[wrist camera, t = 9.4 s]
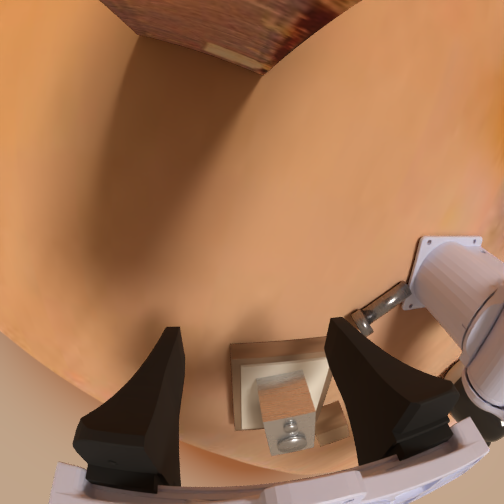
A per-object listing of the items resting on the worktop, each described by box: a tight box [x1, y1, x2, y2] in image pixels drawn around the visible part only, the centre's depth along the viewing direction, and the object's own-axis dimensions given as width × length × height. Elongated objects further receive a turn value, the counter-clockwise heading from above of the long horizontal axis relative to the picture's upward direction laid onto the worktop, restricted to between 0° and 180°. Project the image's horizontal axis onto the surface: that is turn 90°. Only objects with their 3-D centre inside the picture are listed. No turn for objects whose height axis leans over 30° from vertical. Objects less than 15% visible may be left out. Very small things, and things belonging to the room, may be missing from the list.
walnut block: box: [315, 401, 349, 447], centre depth 32 cm, size 4×4×4 cm
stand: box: [230, 336, 332, 431], centre depth 29 cm, size 10×13×2 cm
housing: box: [256, 370, 316, 456], centre depth 25 cm, size 4×8×6 cm, turn 8°
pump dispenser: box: [444, 361, 504, 447], centre depth 29 cm, size 10×10×15 cm
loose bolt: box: [351, 281, 412, 337], centre depth 25 cm, size 6×3×3 cm, turn 125°
